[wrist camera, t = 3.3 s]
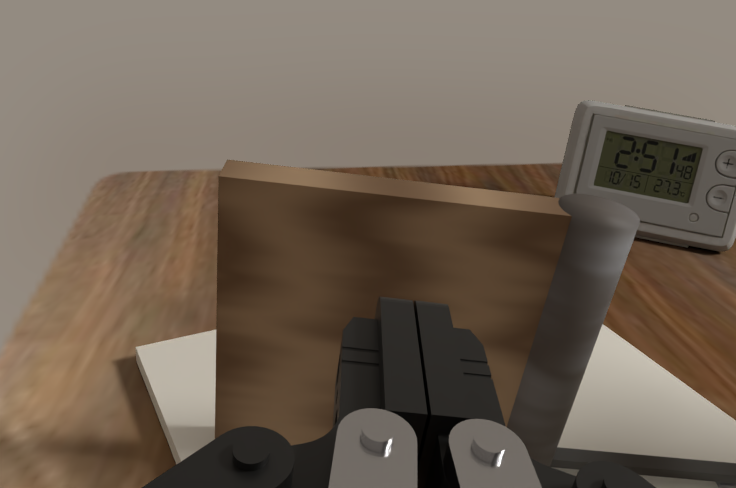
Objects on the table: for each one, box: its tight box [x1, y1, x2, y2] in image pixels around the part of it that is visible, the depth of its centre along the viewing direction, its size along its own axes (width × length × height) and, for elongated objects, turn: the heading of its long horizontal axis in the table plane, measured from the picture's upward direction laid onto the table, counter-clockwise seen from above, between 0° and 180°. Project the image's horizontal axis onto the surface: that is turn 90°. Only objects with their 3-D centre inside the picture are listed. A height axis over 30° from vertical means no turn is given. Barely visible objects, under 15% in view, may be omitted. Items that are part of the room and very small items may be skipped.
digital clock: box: [555, 100, 736, 251], centre depth 57 cm, size 16×9×11 cm, turn 66°
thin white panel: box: [136, 324, 736, 488], centre depth 31 cm, size 28×28×1 cm
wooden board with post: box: [215, 160, 736, 483], centre depth 27 cm, size 26×3×13 cm, turn 90°
